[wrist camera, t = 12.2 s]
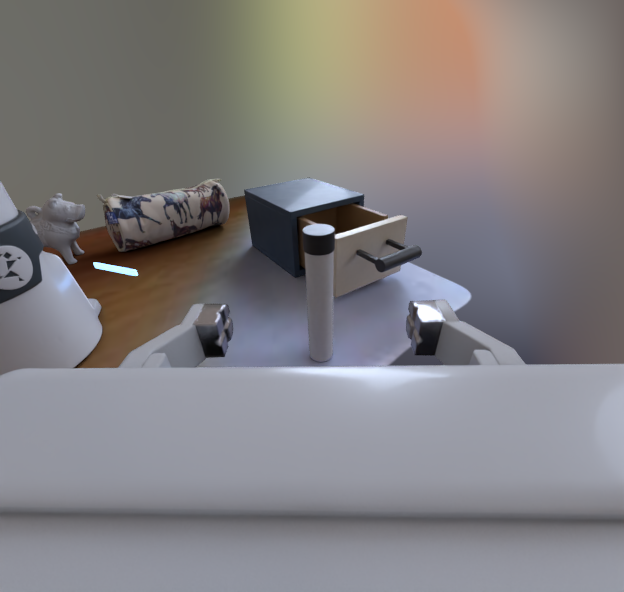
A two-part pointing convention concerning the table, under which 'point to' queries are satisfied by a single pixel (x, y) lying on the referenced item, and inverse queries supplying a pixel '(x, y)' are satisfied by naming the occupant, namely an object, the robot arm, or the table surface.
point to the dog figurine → (58, 225)
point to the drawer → (361, 245)
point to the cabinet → (290, 215)
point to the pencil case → (164, 214)
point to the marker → (319, 288)
